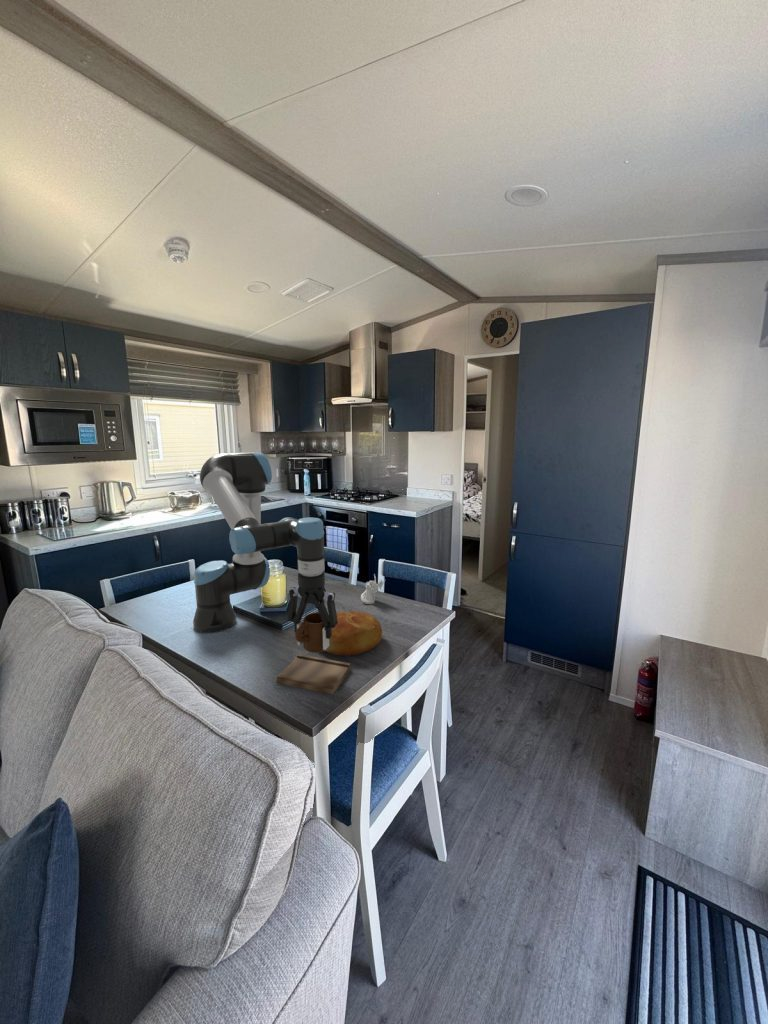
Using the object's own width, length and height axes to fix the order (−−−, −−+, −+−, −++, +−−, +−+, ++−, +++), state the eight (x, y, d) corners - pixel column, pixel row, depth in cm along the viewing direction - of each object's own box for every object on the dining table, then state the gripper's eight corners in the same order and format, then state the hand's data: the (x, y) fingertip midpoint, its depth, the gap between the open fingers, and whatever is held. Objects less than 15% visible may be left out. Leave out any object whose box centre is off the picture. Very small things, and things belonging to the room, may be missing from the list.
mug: (305, 663, 120) (305, 632, 118) (286, 653, 124) (286, 624, 122) (333, 645, 130) (334, 617, 128) (315, 637, 134) (315, 609, 132)
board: (276, 682, 125) (276, 676, 125) (298, 659, 137) (298, 653, 137) (332, 694, 120) (332, 687, 119) (350, 669, 132) (350, 663, 132)
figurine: (358, 603, 180) (357, 576, 178) (365, 596, 187) (365, 570, 185) (381, 607, 177) (382, 580, 174) (388, 600, 184) (388, 573, 181)
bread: (334, 622, 163) (334, 598, 161) (391, 634, 154) (392, 608, 152) (301, 651, 143) (300, 623, 141) (365, 667, 134) (364, 637, 132)
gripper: (272, 572, 121) (276, 645, 126) (339, 580, 115) (340, 657, 120) (286, 564, 128) (289, 634, 133) (349, 571, 122) (350, 644, 127)
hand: (313, 645), depth 127 cm, fingers closed on mug, 8 cm apart
